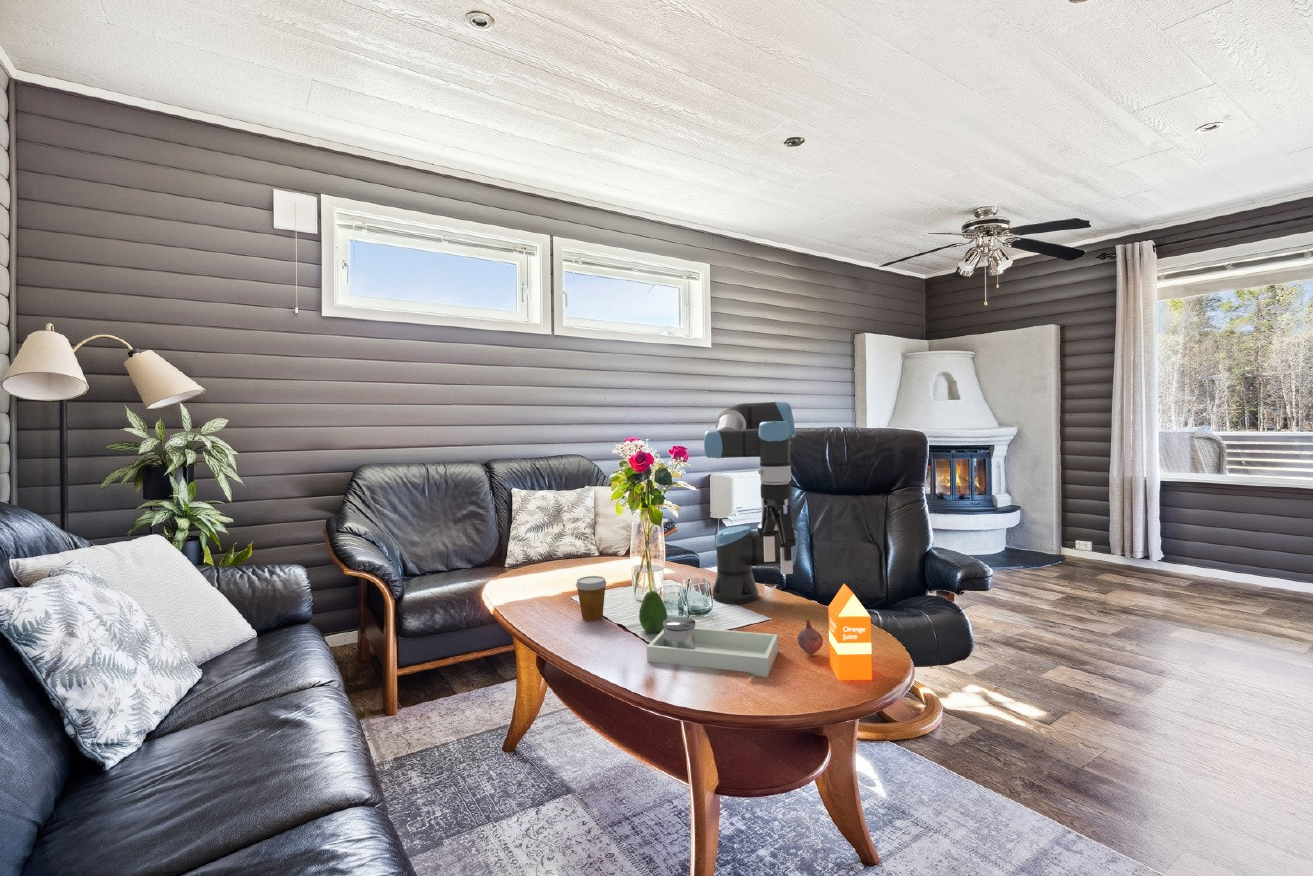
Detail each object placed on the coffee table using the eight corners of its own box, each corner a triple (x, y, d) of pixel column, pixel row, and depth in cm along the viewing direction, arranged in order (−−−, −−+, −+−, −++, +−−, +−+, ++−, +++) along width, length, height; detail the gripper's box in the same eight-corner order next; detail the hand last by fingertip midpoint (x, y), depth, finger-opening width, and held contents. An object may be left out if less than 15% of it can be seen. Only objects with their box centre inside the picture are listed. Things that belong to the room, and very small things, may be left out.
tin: (669, 644, 166) (668, 616, 165) (700, 647, 163) (699, 618, 163) (659, 656, 158) (658, 626, 158) (690, 659, 155) (689, 629, 155)
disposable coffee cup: (614, 616, 193) (612, 578, 192) (592, 625, 185) (590, 585, 185) (592, 611, 199) (591, 574, 198) (570, 619, 191) (569, 580, 191)
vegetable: (794, 651, 160) (793, 613, 159) (818, 649, 160) (817, 611, 160) (802, 660, 154) (801, 620, 153) (826, 659, 154) (825, 619, 154)
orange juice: (838, 680, 142) (836, 593, 141) (829, 664, 151) (827, 583, 150) (872, 679, 142) (871, 593, 141) (862, 664, 150) (860, 582, 150)
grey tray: (667, 641, 170) (667, 625, 170) (778, 652, 160) (778, 634, 160) (647, 664, 155) (646, 646, 155) (768, 677, 145) (767, 658, 145)
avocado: (654, 626, 182) (652, 586, 182) (673, 632, 177) (671, 590, 176) (633, 634, 177) (632, 592, 176) (653, 640, 171) (651, 597, 171)
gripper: (747, 479, 167) (749, 557, 168) (776, 488, 143) (779, 580, 143) (774, 477, 168) (776, 555, 169) (808, 487, 144) (810, 578, 144)
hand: (777, 567), depth 156 cm, fingers open, 13 cm apart
